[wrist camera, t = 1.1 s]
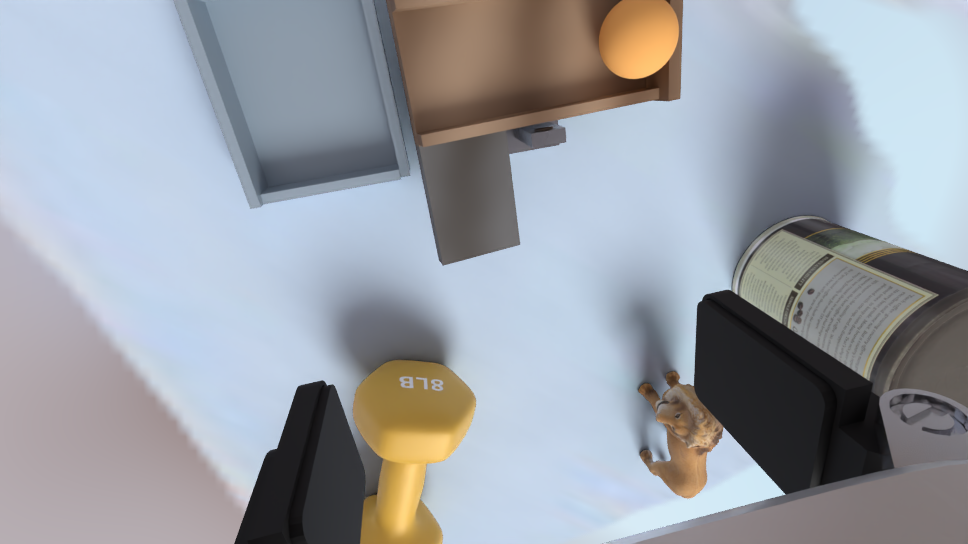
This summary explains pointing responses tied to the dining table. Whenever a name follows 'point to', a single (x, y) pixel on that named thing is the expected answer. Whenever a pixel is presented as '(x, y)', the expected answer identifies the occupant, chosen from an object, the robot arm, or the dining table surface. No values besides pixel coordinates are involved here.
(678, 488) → the lion figurine
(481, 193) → the brown tilting tray
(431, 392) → the dumbbell
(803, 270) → the coffee can
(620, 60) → the ball
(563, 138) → the lever stand
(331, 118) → the tray
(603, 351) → the dining table surface
